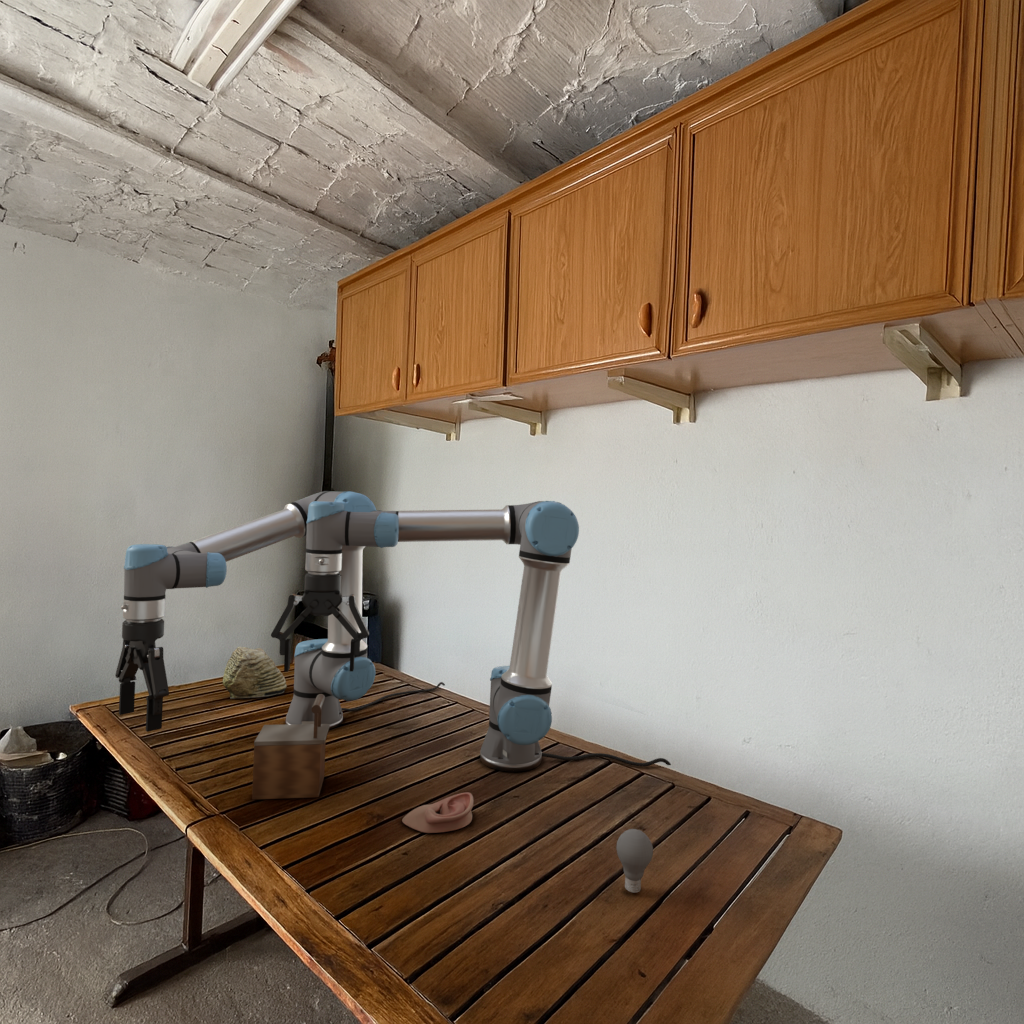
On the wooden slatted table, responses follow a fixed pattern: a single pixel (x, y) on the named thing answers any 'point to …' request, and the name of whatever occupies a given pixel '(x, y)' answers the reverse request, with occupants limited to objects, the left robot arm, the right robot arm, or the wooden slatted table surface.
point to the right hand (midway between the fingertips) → (319, 670)
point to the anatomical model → (442, 814)
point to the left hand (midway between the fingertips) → (139, 721)
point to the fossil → (252, 674)
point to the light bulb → (634, 857)
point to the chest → (288, 771)
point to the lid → (296, 730)
